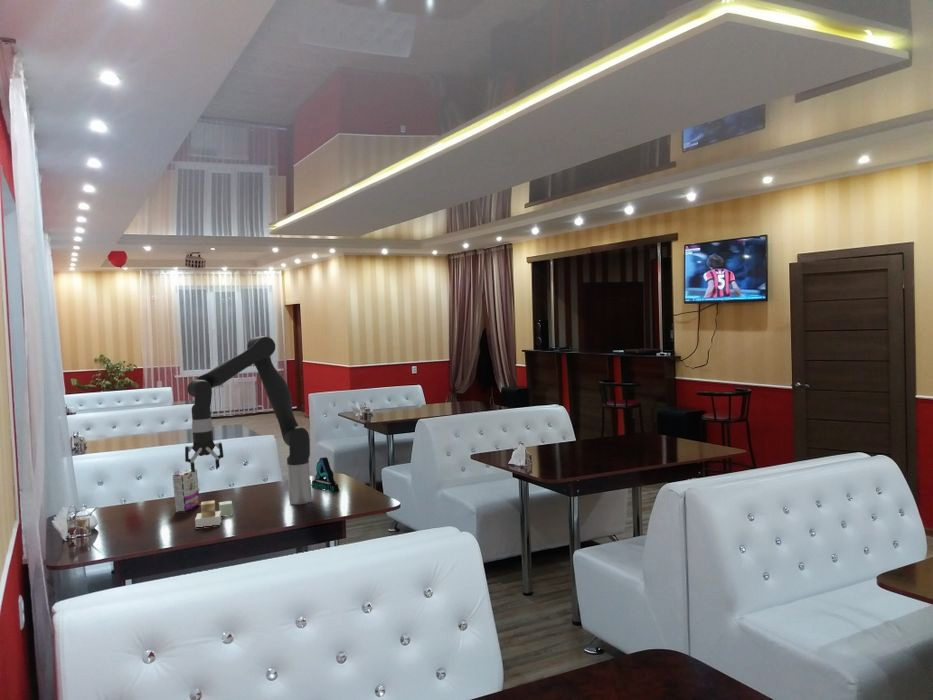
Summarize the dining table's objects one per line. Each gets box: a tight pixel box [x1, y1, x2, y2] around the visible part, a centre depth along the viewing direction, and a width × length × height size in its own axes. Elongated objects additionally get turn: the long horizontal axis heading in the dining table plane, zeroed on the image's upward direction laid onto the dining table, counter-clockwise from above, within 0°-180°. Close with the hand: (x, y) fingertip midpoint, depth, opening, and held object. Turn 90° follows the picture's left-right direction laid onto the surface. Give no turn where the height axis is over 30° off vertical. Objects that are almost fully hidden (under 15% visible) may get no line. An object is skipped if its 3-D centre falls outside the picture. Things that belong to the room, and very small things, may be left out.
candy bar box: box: [172, 468, 201, 513], centre depth 306 cm, size 11×5×16 cm, turn 168°
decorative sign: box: [311, 456, 340, 493], centre depth 330 cm, size 19×2×15 cm, turn 46°
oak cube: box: [200, 499, 216, 517], centre depth 281 cm, size 5×5×5 cm
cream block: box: [194, 510, 223, 528], centre depth 281 cm, size 9×9×4 cm
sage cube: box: [218, 500, 234, 517], centre depth 294 cm, size 5×5×5 cm
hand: (205, 470), depth 280 cm, fingers open, 8 cm apart
